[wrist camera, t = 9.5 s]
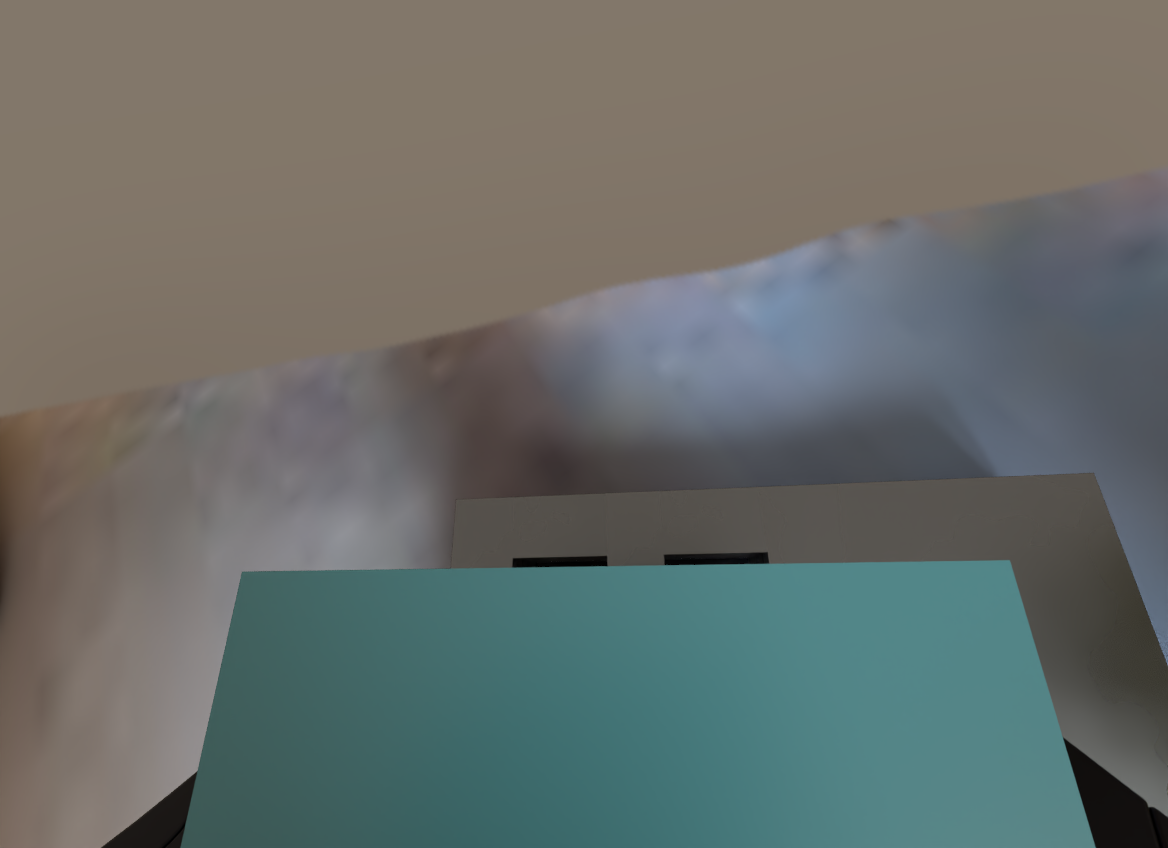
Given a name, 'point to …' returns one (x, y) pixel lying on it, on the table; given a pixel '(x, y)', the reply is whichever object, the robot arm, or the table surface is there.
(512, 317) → the table surface
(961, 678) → the clip
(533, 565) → the grey block with holes
